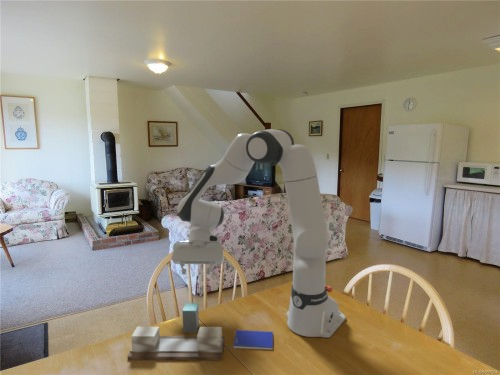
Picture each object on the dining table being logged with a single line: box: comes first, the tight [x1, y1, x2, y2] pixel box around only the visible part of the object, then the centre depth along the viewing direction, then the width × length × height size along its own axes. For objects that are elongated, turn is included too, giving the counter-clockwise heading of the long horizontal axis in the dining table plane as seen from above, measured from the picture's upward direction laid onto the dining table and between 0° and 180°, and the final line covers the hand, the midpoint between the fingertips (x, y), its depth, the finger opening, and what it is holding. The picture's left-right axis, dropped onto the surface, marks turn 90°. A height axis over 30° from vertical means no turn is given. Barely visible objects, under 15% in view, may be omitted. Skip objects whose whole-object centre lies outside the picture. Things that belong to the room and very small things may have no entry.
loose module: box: [182, 302, 200, 333], centre depth 109 cm, size 4×5×8 cm
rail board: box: [127, 326, 225, 361], centre depth 98 cm, size 28×10×6 cm, turn 90°
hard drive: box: [233, 329, 274, 350], centre depth 103 cm, size 2×8×12 cm
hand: (196, 274), depth 120 cm, fingers open, 8 cm apart
